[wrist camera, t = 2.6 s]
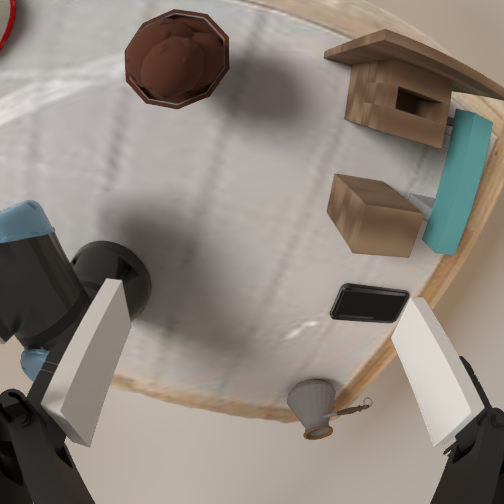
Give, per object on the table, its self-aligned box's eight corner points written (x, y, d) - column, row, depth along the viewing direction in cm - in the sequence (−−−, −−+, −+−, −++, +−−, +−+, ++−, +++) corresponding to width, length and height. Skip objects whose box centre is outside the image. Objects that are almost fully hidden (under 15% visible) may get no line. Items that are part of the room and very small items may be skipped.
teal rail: (426, 227, 44) (455, 254, 37) (406, 224, 44) (434, 252, 36) (455, 112, 35) (493, 123, 27) (434, 104, 34) (473, 112, 26)
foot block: (373, 217, 44) (408, 257, 34) (326, 212, 44) (352, 253, 33) (383, 181, 42) (424, 213, 31) (334, 173, 41) (366, 204, 30)
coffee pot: (314, 403, 70) (324, 453, 57) (276, 396, 67) (282, 450, 54) (369, 353, 61) (390, 407, 48) (330, 341, 58) (348, 402, 45)
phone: (344, 285, 50) (411, 293, 52) (342, 281, 51) (408, 289, 53) (328, 319, 54) (394, 323, 56) (327, 315, 55) (392, 320, 57)
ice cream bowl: (249, 51, 32) (255, 28, 19) (200, 119, 36) (178, 135, 23) (180, 14, 29) (150, -23, 16) (134, 82, 33) (81, 83, 20)
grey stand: (430, 209, 44) (449, 224, 39) (407, 204, 43) (425, 220, 38) (449, 135, 37) (472, 143, 32) (425, 127, 37) (448, 134, 32)
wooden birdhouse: (415, 137, 38) (497, 172, 22) (316, 113, 36) (370, 133, 21) (425, 81, 33) (512, 93, 18) (324, 51, 32) (385, 29, 16)
